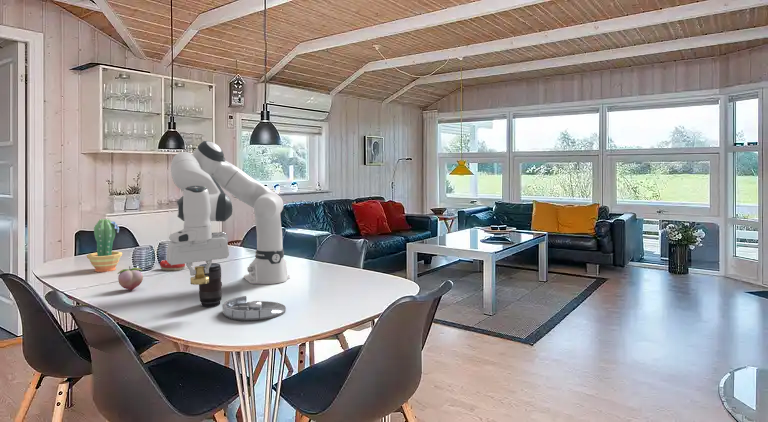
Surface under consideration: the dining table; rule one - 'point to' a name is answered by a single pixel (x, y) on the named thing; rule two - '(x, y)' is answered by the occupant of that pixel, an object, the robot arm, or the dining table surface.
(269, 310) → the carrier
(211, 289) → the camera lens
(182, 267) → the toy boat
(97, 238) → the potted cactus
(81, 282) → the dining table surface
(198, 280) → the planet gear
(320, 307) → the dining table surface
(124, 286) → the decorative fruit
